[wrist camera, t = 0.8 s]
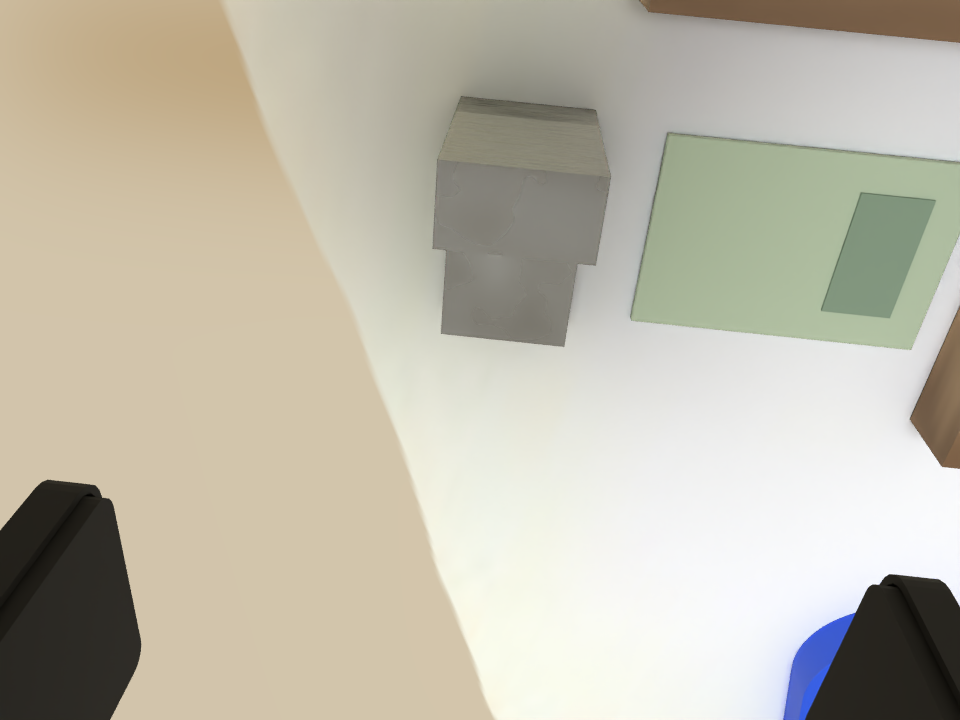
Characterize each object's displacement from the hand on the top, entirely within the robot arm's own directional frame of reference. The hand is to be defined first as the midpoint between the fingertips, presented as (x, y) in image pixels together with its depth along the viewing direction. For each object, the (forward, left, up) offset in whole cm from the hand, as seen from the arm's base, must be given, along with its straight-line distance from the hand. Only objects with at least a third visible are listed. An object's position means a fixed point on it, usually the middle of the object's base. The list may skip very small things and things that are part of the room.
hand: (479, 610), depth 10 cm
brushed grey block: (+3, 0, -20) cm, 20 cm away
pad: (+3, +10, -20) cm, 23 cm away
